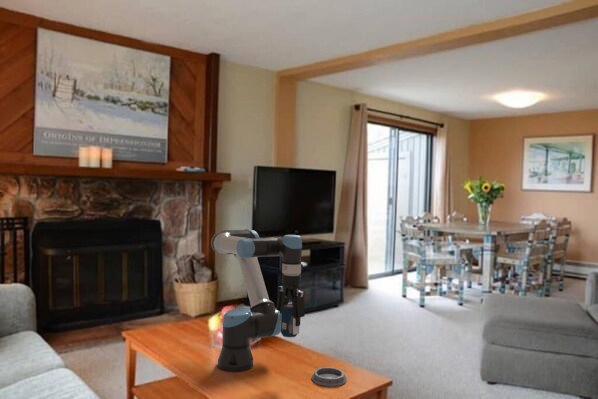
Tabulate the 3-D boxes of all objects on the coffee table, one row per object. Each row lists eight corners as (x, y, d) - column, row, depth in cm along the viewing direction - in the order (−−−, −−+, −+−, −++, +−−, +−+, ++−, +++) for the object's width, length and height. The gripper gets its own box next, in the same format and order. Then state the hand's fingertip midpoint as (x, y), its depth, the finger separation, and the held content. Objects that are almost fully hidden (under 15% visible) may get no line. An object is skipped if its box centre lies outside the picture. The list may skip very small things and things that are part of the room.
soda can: (288, 331, 195) (289, 302, 195) (301, 335, 191) (302, 305, 191) (277, 335, 190) (278, 305, 190) (290, 339, 186) (291, 308, 185)
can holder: (304, 378, 192) (304, 371, 192) (328, 369, 202) (328, 363, 202) (329, 389, 182) (329, 383, 182) (353, 380, 192) (354, 374, 191)
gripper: (268, 271, 195) (266, 327, 195) (301, 279, 180) (299, 339, 181) (282, 269, 200) (280, 324, 200) (315, 277, 185) (313, 336, 186)
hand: (289, 331), depth 191 cm, fingers closed on soda can, 7 cm apart
